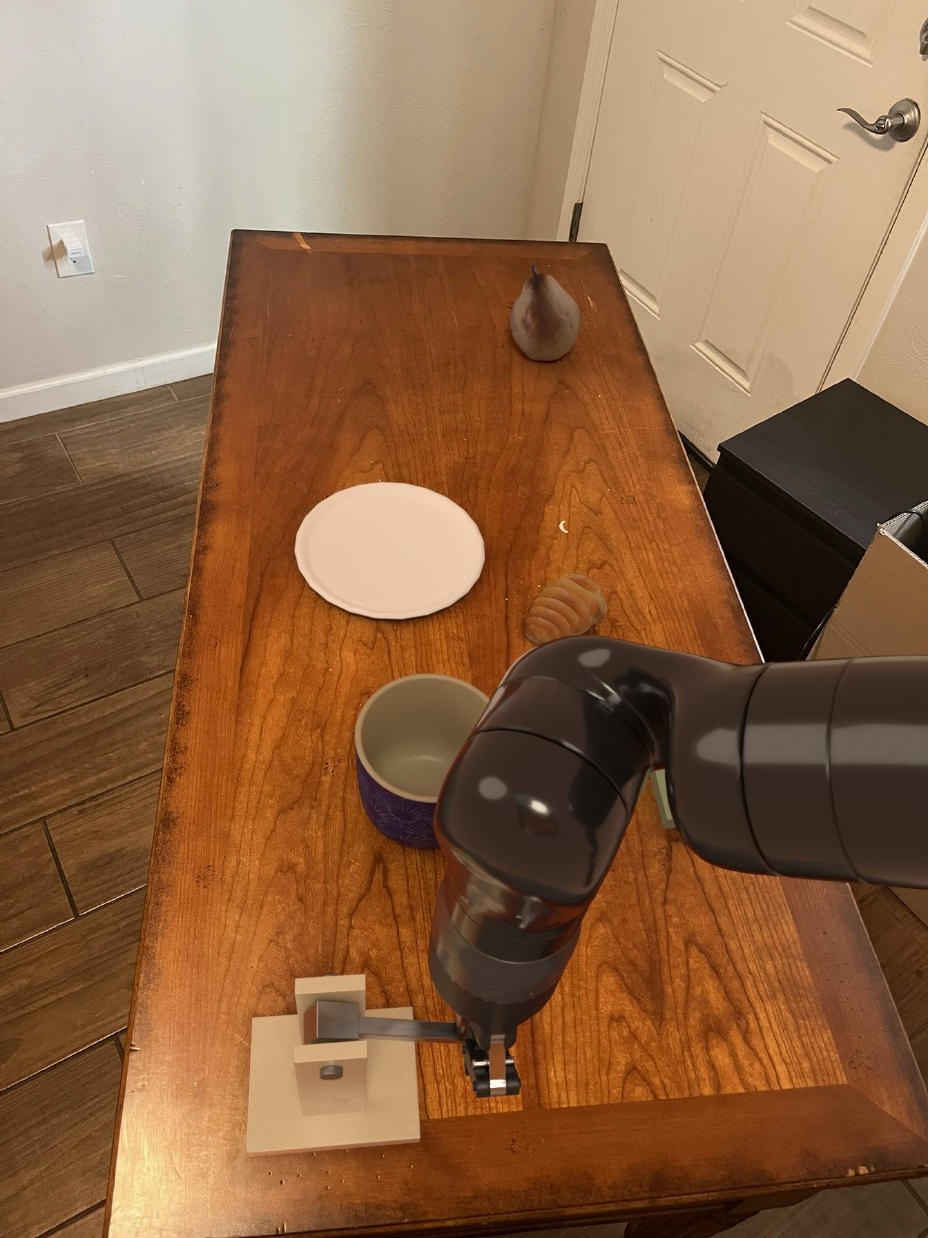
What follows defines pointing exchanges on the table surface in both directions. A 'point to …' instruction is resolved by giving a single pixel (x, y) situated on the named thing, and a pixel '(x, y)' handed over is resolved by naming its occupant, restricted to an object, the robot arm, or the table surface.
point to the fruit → (544, 318)
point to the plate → (389, 551)
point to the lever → (370, 1027)
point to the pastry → (565, 609)
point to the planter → (412, 751)
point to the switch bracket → (329, 1080)
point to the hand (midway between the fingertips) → (471, 1028)
